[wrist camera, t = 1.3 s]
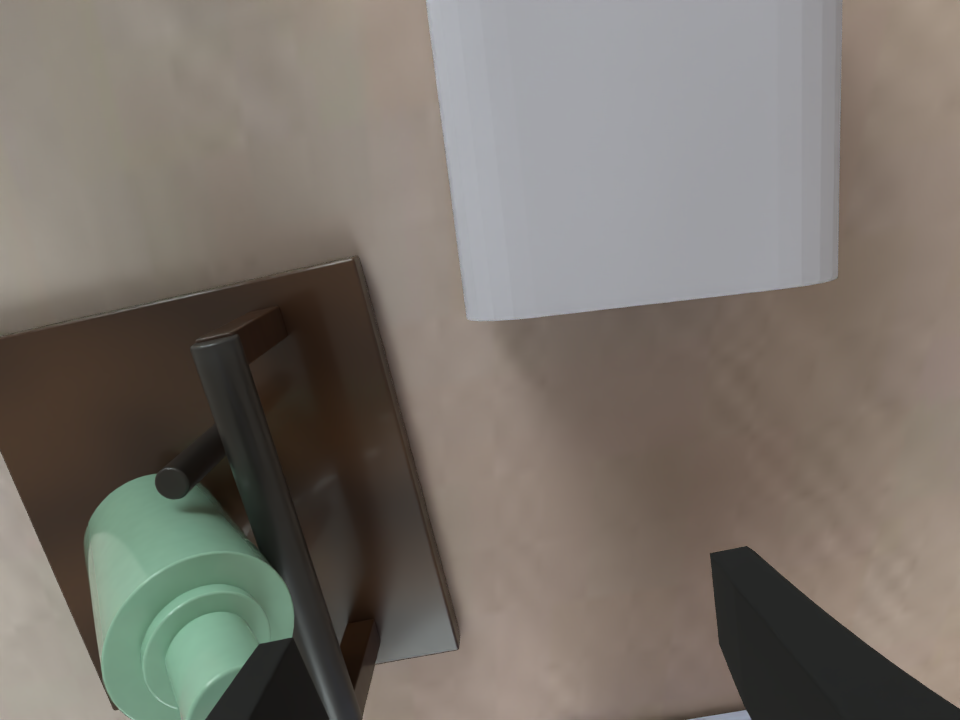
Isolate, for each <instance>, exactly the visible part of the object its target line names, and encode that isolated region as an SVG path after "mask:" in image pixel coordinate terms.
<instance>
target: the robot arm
mask: <svg viewBox="0 0 960 720" xmlns="http://www.w3.org/2000/svg"><path fill="white" fill-rule="evenodd" d="M710 557H711V567H712V577H713V587H714V597H715V607H716V617H717V627H718V637H719V645H720V647H721V650H722V652H723V655H724V657H725V660H726V662H727V665H728V667H729V670H730V672H731V675H732V677H733V680H734V682H735V685H736V687H737V690H738V692H739V694H740V697H741V699H742V702H743V704H744V706H745V708H746V710H743V711H737V712H731V713H724V714H718V715H712V716H706V717H700V718H694V719H688V720H960V709H959V708H957V707H956V706H954V705H953V704H951V703H950V702H948V701H947V700H945V699H944V698H942V697H941V696H939V695H938V694H936V693H935V692H933V691H932V690H930V689H929V688H928V687H926V686H925V685H923V684H922V683H920V682H919V681H917V680H916V679H915V678H913V677H912V676H910V675H909V674H908V673H906V672H905V671H903V670H902V669H900V668H899V667H898V666H896V665H895V664H893V663H892V662H891V661H889V660H888V659H886V658H885V657H884V656H882V655H881V654H880V653H878V652H877V651H876V650H874V649H873V648H872V647H870V646H869V645H867V644H866V643H865V642H864V641H862V640H861V639H860V638H858V637H857V636H856V635H855V634H853V633H852V632H851V631H849V630H848V629H847V628H846V627H844V626H843V625H842V624H840V623H839V622H838V621H837V620H835V619H834V618H833V617H831V616H830V615H829V614H828V613H826V612H825V611H824V610H823V609H821V608H820V607H819V606H818V605H816V604H815V603H814V602H813V601H812V600H810V599H809V598H808V597H807V596H806V595H804V594H803V593H802V592H801V591H800V590H798V589H797V588H796V587H795V586H794V585H793V584H791V583H790V582H789V581H788V580H787V579H785V578H784V577H783V576H782V575H781V574H780V573H779V572H777V571H776V570H775V569H774V568H773V567H772V566H771V565H769V564H768V563H767V562H766V561H765V560H764V559H763V558H761V557H760V556H759V555H758V554H757V553H756V552H755V551H754V550H752V549H750V548H749V547H747V546H745V547H740V548H735V549H730V550H725V551H720V552H715V553H710ZM205 720H329V717H328V715H327V712H326V710H325V708H324V706H323V704H322V701H321V699H320V697H319V695H318V692H317V690H316V688H315V686H314V683H313V681H312V679H311V677H310V674H309V672H308V670H307V668H306V665H305V663H304V661H303V659H302V656H301V654H300V652H299V650H298V647H297V645H296V643H295V641H294V638H293V637H291V638H286V639H282V640H277V641H272V642H267V643H262V644H259V645H258V646H257V647H256V649H255V650H254V652H253V653H252V654H251V656H250V657H249V658H248V660H247V661H246V663H245V664H244V665H243V667H242V668H241V670H240V671H239V672H238V674H237V675H236V677H235V678H234V679H233V681H232V682H231V684H230V685H229V687H228V688H227V689H226V691H225V692H224V694H223V695H222V696H221V698H220V699H219V701H218V702H217V703H216V705H215V706H214V708H213V709H212V711H211V712H210V713H209V715H208V716H207V718H206V719H205Z"/></svg>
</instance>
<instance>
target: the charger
mask: <svg viewBox="0 0 960 720" xmlns="http://www.w3.org/2000/svg"><path fill="white" fill-rule="evenodd" d="M426 6H427V13H428V21H429V29H430V37H431V44H432V52H433V60H434V68H435V75H436V83H437V91H438V99H439V106H440V114H441V122H442V130H443V137H444V145H445V153H446V161H447V169H448V176H449V184H450V192H451V200H452V207H453V215H454V223H455V231H456V238H457V246H458V254H459V262H460V269H461V277H462V285H463V293H464V300H465V308H466V316H467V319H468V320H473V321H499V320H515V319H525V318H535V317H544V316H553V315H561V314H570V313H579V312H587V311H596V310H605V309H614V308H622V307H631V306H640V305H648V304H657V303H666V302H674V301H683V300H692V299H701V298H709V297H718V296H727V295H735V294H744V293H753V292H762V291H770V290H779V289H787V288H794V287H802V286H808V285H814V284H819V283H824V282H828V281H832V280H834V279H836V278H838V236H839V176H840V116H841V56H842V0H426Z"/></svg>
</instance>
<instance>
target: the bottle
mask: <svg viewBox="0 0 960 720" xmlns="http://www.w3.org/2000/svg"><path fill="white" fill-rule="evenodd" d="M156 475H157V474H151V475H146V476H142V477H139V478H136V479H134V480H132V481H129V482H127V483H125V484H124V485H122V486H120V487H118V488H117V489H116V490H114V491H113V492H112V493H110V494H109V495H108V496H107V497H106V498H105V499H104V500H103V501H102V502H101V503H100V505H99V506H98V507H97V508H96V510H95V512H94V513H93V515H92V516H91V518H90V521H89V523H88V525H87V528H86V532H85V537H84V555H85V562H86V569H87V576H88V582H89V589H90V596H91V603H92V610H93V616H94V623H95V630H96V637H97V644H98V650H99V657H100V664H101V671H102V677H103V682H104V685H105V688H106V691H107V693H108V695H109V696H110V698H111V700H112V702H113V703H114V704H115V705H116V707H117V708H118V709H119V710H120V711H121V712H122V713H124V714H125V715H126V716H127V717H128V718H130V719H132V720H205V719H206V718H207V716H208V715H209V713H210V712H211V711H212V709H213V708H214V706H215V705H216V703H217V702H218V701H219V699H220V698H221V696H222V695H223V694H224V692H225V691H226V689H227V688H228V687H229V685H230V684H231V682H232V681H233V679H234V678H235V677H236V675H237V674H238V672H239V671H240V670H241V668H242V667H243V665H244V664H245V663H246V661H247V660H248V658H249V657H250V656H251V654H252V653H253V652H254V650H255V649H256V647H257V646H258V645H259V644H262V643H267V642H272V641H277V640H282V639H286V638H291V637H292V636H293V629H294V606H293V601H292V597H291V594H290V592H289V589H288V587H287V585H286V583H285V582H284V580H283V579H282V577H281V576H280V575H279V574H278V572H277V571H276V570H275V569H274V567H273V566H272V565H271V564H270V563H269V561H268V560H267V559H266V558H265V557H264V555H263V554H262V553H261V552H260V550H259V549H258V548H257V547H256V546H255V544H254V543H253V542H252V541H251V539H250V538H249V537H248V536H247V535H246V533H245V532H244V531H243V530H242V528H241V527H240V526H239V525H238V524H237V522H236V521H235V520H234V519H233V517H232V516H231V515H230V514H229V513H228V511H227V510H226V509H225V508H224V506H223V505H222V504H221V503H220V502H219V500H218V499H217V498H216V497H215V496H214V494H213V493H212V492H211V491H210V490H209V489H208V488H207V487H206V486H204V485H203V484H202V483H200V482H199V483H198V484H197V485H196V486H195V487H194V488H193V489H192V490H191V491H190V492H189V493H188V494H187V495H186V496H185V497H183V498H181V499H175V500H172V499H167V498H165V497H163V496H162V495H161V494H160V493H159V492H158V491H157V489H156V487H155V477H156Z"/></svg>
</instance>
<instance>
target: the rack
mask: <svg viewBox="0 0 960 720" xmlns="http://www.w3.org/2000/svg"><path fill="white" fill-rule="evenodd" d="M0 452H1V454H2V456H3V458H4V461H5V463H6V465H7V468H8V470H9V472H10V474H11V477H12V479H13V481H14V484H15V486H16V488H17V490H18V493H19V495H20V497H21V500H22V502H23V504H24V506H25V509H26V511H27V513H28V516H29V518H30V520H31V522H32V525H33V527H34V529H35V532H36V534H37V536H38V538H39V541H40V543H41V545H42V548H43V550H44V552H45V554H46V557H47V559H48V561H49V564H50V566H51V568H52V570H53V573H54V575H55V577H56V580H57V582H58V584H59V586H60V589H61V591H62V593H63V596H64V598H65V600H66V602H67V605H68V607H69V609H70V612H71V614H72V616H73V618H74V621H75V623H76V625H77V628H78V630H79V632H80V634H81V637H82V639H83V641H84V644H85V646H86V648H87V650H88V653H89V655H90V657H91V660H92V662H93V664H94V666H95V669H96V671H97V673H98V676H99V678H100V680H101V682H102V685H103V687H104V689H105V692H106V694H107V696H108V698H109V701H110V703H111V705H112V708H113V709H114V710H119V709H118V708H117V707H116V705H115V704H114V703H113V702H112V700H111V698H110V696H109V695H108V693H107V691H106V688H105V685H104V682H103V677H102V671H101V664H100V657H99V650H98V644H97V637H96V630H95V623H94V616H93V610H92V603H91V596H90V589H89V582H88V576H87V569H86V562H85V555H84V537H85V532H86V528H87V525H88V523H89V521H90V518H91V516H92V515H93V513H94V512H95V510H96V508H97V507H98V506H99V505H100V503H101V502H102V501H103V500H104V499H105V498H106V497H107V496H108V495H109V494H110V493H112V492H113V491H114V490H116V489H117V488H118V487H120V486H122V485H124V484H125V483H127V482H129V481H132V480H134V479H136V478H139V477H142V476H146V475H151V474H157V475H156V477H155V487H156V489H157V491H158V492H159V493H160V494H161V495H162V496H163V497H165V498H167V499H172V500H175V499H181V498H183V497H185V496H186V495H187V494H188V493H189V492H190V491H191V490H192V489H193V488H194V487H195V486H196V485H197V484H198V483H199V482H200V483H202V484H203V485H204V486H206V487H207V488H208V489H209V490H210V491H211V492H212V493H213V494H214V496H215V497H216V498H217V499H218V500H219V502H220V503H221V504H222V505H223V506H224V508H225V509H226V510H227V511H228V513H229V514H230V515H231V516H232V517H233V519H234V520H235V521H236V522H237V524H238V525H239V526H240V527H241V528H242V530H243V531H244V532H245V533H246V535H247V536H248V537H249V538H250V539H251V541H252V542H253V543H254V544H255V546H256V547H257V548H258V549H259V550H260V552H261V553H262V554H263V555H264V557H265V558H266V559H267V560H268V561H269V563H270V564H271V565H272V566H273V567H274V569H275V570H276V571H277V572H278V574H279V575H280V576H281V577H282V579H283V580H284V582H285V583H286V585H287V587H288V589H289V592H290V594H291V597H292V601H293V606H294V629H293V636H292V637H293V638H294V641H295V643H296V645H297V647H298V650H299V652H300V654H301V656H302V659H303V661H304V663H305V665H306V668H307V670H308V672H309V674H310V677H311V679H312V681H313V683H314V686H315V688H316V690H317V692H318V695H319V697H320V699H321V701H322V704H323V706H324V708H325V710H326V712H327V715H328V717H329V720H362V716H363V712H364V708H365V704H366V700H367V695H368V691H369V687H370V683H371V679H372V675H373V671H374V667H375V665H376V664H382V663H387V662H393V661H399V660H404V659H410V658H416V657H421V656H427V655H433V654H438V653H444V652H450V651H455V650H458V649H459V645H460V633H459V629H458V625H457V621H456V618H455V614H454V610H453V606H452V603H451V599H450V595H449V592H448V588H447V584H446V580H445V577H444V573H443V569H442V565H441V562H440V558H439V554H438V550H437V547H436V543H435V539H434V535H433V532H432V528H431V524H430V521H429V517H428V513H427V509H426V506H425V502H424V498H423V494H422V491H421V487H420V483H419V479H418V476H417V472H416V468H415V465H414V461H413V457H412V453H411V450H410V446H409V442H408V438H407V435H406V431H405V427H404V423H403V420H402V416H401V412H400V409H399V405H398V401H397V397H396V394H395V390H394V386H393V382H392V379H391V375H390V371H389V367H388V364H387V360H386V356H385V352H384V349H383V345H382V341H381V338H380V334H379V330H378V326H377V323H376V319H375V315H374V311H373V308H372V304H371V300H370V296H369V293H368V289H367V285H366V282H365V278H364V274H363V270H362V267H361V263H360V259H359V257H358V256H352V257H348V258H343V259H339V260H334V261H330V262H326V263H321V264H317V265H312V266H308V267H303V268H299V269H295V270H290V271H286V272H281V273H277V274H272V275H268V276H264V277H259V278H255V279H250V280H246V281H242V282H237V283H233V284H228V285H224V286H219V287H215V288H211V289H206V290H202V291H197V292H193V293H188V294H184V295H180V296H175V297H171V298H166V299H162V300H157V301H153V302H149V303H144V304H140V305H135V306H131V307H126V308H122V309H118V310H113V311H109V312H104V313H100V314H95V315H91V316H87V317H82V318H78V319H73V320H69V321H64V322H60V323H56V324H51V325H47V326H42V327H38V328H34V329H29V330H25V331H20V332H16V333H11V334H7V335H3V336H0Z"/></svg>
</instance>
